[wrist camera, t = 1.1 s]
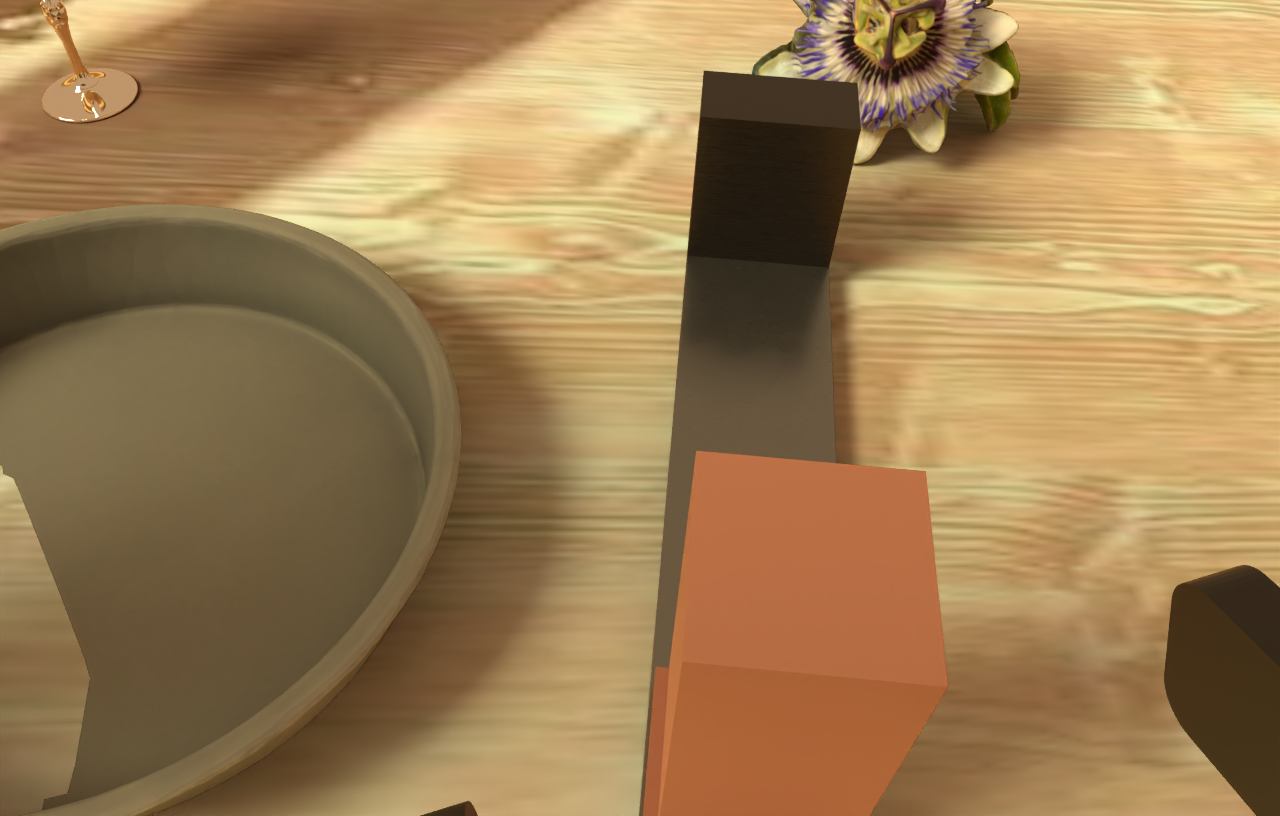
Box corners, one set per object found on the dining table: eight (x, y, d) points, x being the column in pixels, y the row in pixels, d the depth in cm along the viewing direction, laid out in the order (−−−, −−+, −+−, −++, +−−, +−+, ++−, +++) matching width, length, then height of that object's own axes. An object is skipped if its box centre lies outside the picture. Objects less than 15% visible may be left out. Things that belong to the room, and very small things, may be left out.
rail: (623, 1002, 28) (631, 927, 22) (689, 226, 48) (703, 70, 41) (849, 1026, 28) (923, 957, 22) (823, 237, 47) (857, 82, 41)
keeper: (640, 852, 29) (661, 659, 20) (654, 683, 32) (677, 449, 23) (849, 873, 29) (969, 689, 20) (843, 701, 32) (944, 472, 23)
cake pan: (21, 234, 46) (-26, 150, 43) (559, 352, 43) (556, 271, 39) (-493, 775, 31) (-630, 712, 28) (280, 1020, 28) (235, 984, 24)
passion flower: (841, 240, 55) (727, 91, 47) (840, 88, 61) (738, -71, 52) (1064, 171, 50) (980, -13, 41) (1042, 9, 55) (964, -184, 46)
